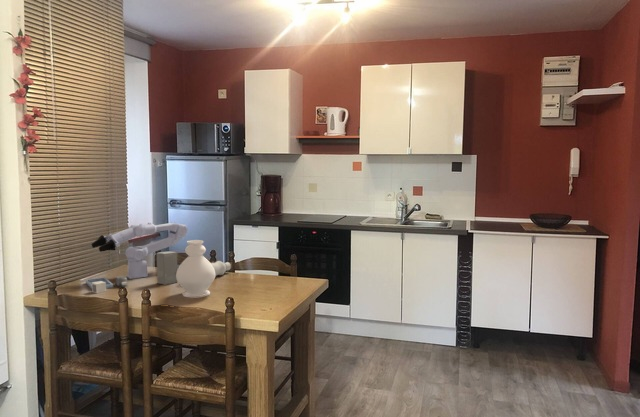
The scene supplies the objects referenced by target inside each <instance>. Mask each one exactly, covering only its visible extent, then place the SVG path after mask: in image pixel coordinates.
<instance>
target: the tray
mask: <svg viewBox="0 0 640 417" xmlns="http://www.w3.org/2000/svg"><path fill="white" fill-rule="evenodd" d="M98 281H103V282H106V290H107V289H109V290H110V289H113V288H114V283H112V282H111V281H110V280H109V279H108V278H106V277H99V278H89V279H85V284H86V285H87V286H88V287H89V288H90V289H91V290H92V283H93V282H98Z"/></svg>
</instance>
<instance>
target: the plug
mask: <svg viewBox="0 0 640 417" xmlns="http://www.w3.org/2000/svg"><path fill="white" fill-rule="evenodd" d="M115 285H116V286H117V287H119V288H126V287H128V277H127V276H126V275H120V276H115ZM125 286H126V287H125Z"/></svg>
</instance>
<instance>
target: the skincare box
mask: <svg viewBox="0 0 640 417" xmlns="http://www.w3.org/2000/svg"><path fill="white" fill-rule="evenodd" d="M155 253H156V276H157V284H160V285H164V286H166V285H171V284H175V283H178V281H177V279H176V273H177V270H178V253H177V251H171V250H170V251H161V252H155Z"/></svg>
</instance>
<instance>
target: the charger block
mask: <svg viewBox="0 0 640 417" xmlns="http://www.w3.org/2000/svg"><path fill="white" fill-rule="evenodd" d="M91 292H92V293H95V294H101V293H105V292H107V289H106V282H103V281H98V282H93V283H92V289H91Z"/></svg>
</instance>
